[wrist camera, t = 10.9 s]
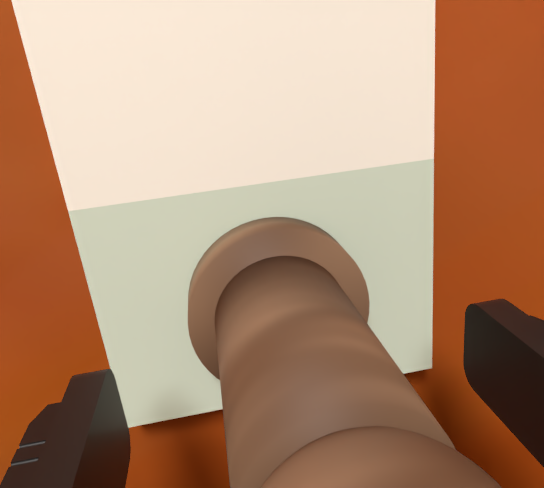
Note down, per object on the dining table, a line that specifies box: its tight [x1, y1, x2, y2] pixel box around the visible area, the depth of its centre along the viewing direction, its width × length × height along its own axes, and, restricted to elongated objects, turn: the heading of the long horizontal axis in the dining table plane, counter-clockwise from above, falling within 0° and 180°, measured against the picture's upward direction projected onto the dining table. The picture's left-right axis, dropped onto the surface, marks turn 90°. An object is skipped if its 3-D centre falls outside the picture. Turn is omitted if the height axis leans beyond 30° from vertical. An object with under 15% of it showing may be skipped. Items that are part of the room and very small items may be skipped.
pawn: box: [188, 217, 502, 488], centre depth 9 cm, size 5×5×11 cm
